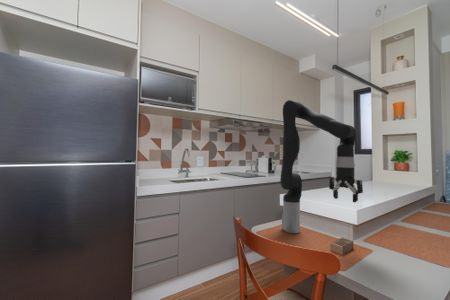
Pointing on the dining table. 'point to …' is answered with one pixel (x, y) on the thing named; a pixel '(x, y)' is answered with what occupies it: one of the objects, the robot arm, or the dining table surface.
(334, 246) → the brown cardboard box
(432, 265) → the dining table surface
